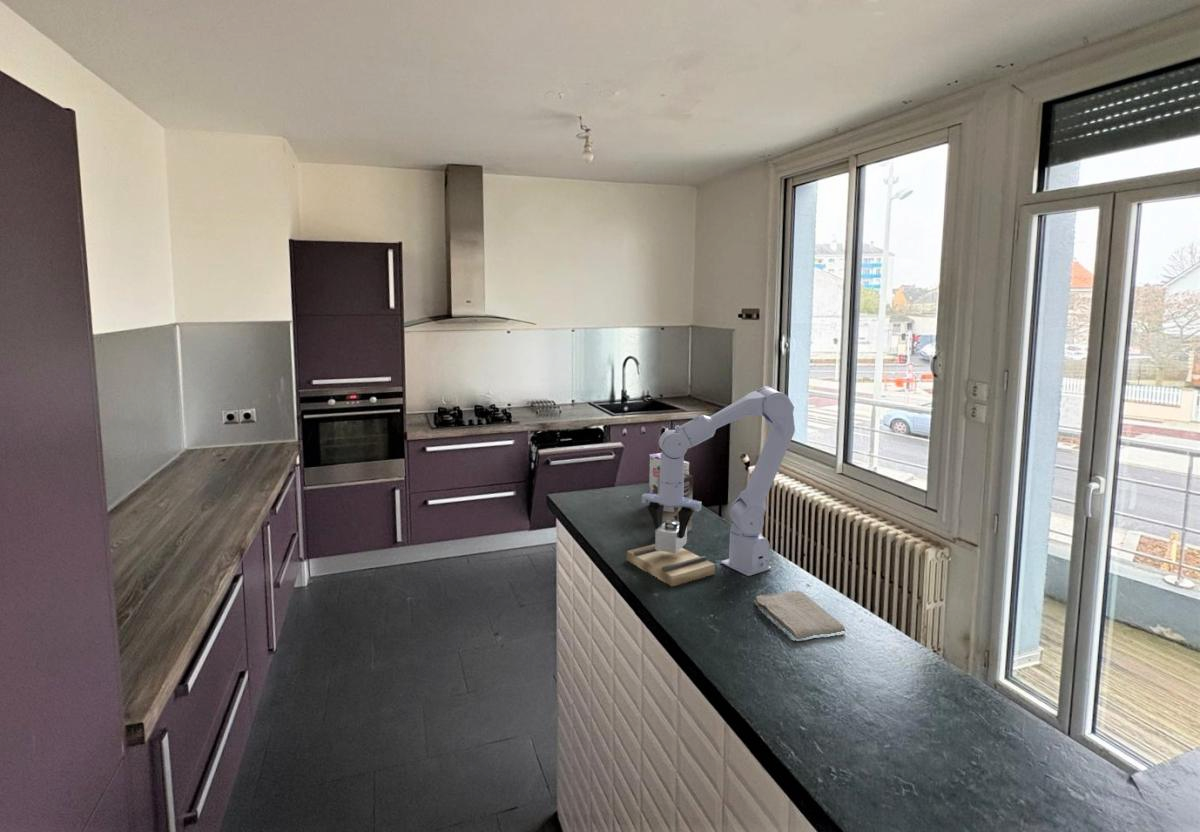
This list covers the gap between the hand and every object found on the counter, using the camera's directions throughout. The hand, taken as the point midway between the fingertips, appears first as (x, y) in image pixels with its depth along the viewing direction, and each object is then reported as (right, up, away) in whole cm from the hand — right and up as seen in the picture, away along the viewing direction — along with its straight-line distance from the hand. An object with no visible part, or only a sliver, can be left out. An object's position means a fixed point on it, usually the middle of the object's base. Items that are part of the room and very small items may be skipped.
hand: (670, 534), depth 167 cm
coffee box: (+4, -4, +25) cm, 25 cm away
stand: (0, -8, +2) cm, 8 cm away
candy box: (+4, 0, +44) cm, 44 cm away
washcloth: (+24, -14, -24) cm, 36 cm away
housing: (0, -3, +1) cm, 3 cm away
